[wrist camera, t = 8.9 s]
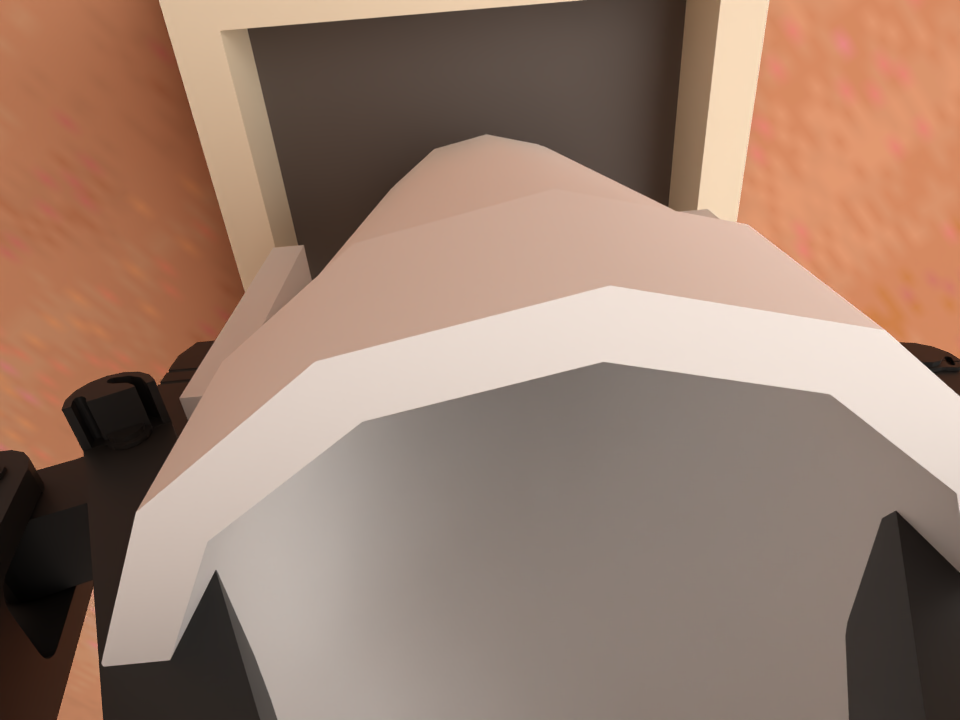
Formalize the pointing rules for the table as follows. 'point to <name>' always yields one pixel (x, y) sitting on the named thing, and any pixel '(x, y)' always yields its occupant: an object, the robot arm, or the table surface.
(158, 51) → the table surface
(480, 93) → the tray
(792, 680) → the foam cup
